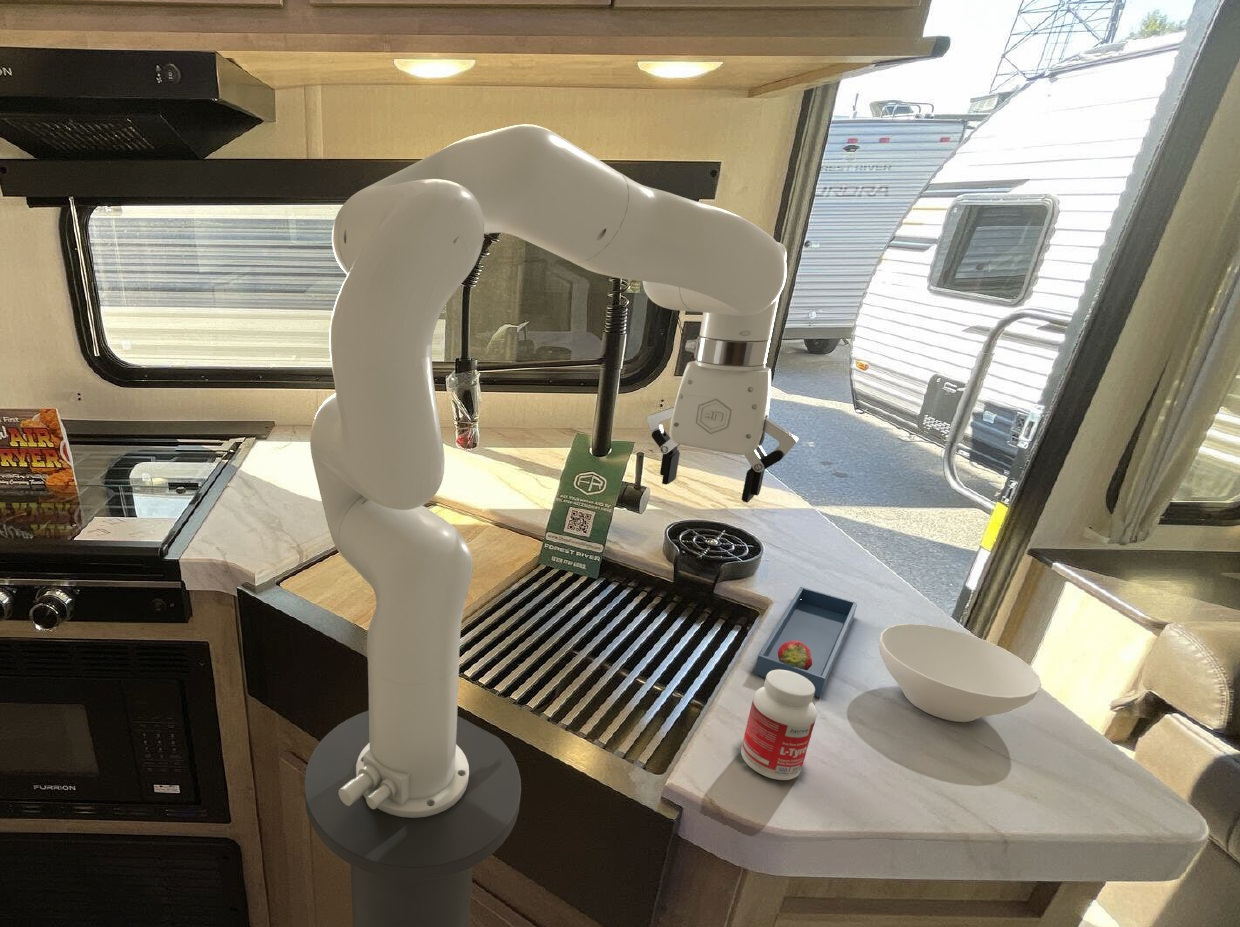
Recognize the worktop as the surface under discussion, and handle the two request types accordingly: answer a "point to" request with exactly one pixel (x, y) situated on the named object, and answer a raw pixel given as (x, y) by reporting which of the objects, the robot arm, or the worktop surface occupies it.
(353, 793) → the robot arm
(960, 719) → the bowl
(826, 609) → the tray
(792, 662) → the fruit
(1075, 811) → the worktop surface
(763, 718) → the pill bottle
